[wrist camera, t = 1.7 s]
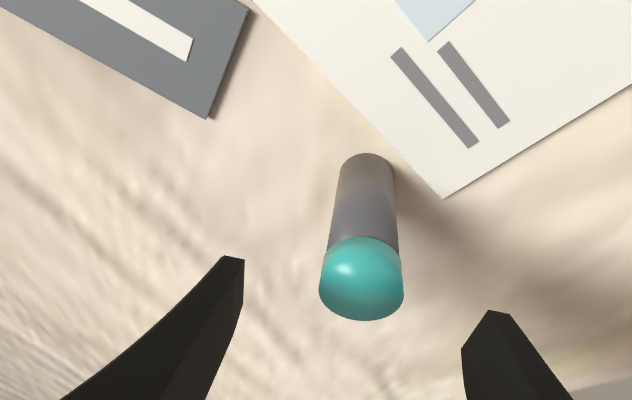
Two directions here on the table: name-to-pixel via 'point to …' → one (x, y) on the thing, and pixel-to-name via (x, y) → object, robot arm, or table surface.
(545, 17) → the paper
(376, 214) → the marker
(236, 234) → the table surface
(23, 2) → the plate
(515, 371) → the robot arm
